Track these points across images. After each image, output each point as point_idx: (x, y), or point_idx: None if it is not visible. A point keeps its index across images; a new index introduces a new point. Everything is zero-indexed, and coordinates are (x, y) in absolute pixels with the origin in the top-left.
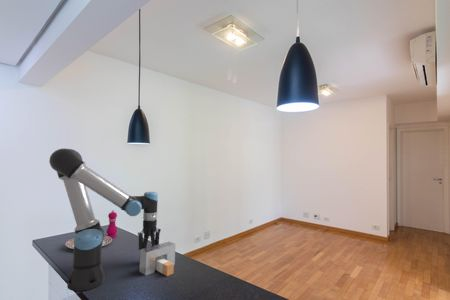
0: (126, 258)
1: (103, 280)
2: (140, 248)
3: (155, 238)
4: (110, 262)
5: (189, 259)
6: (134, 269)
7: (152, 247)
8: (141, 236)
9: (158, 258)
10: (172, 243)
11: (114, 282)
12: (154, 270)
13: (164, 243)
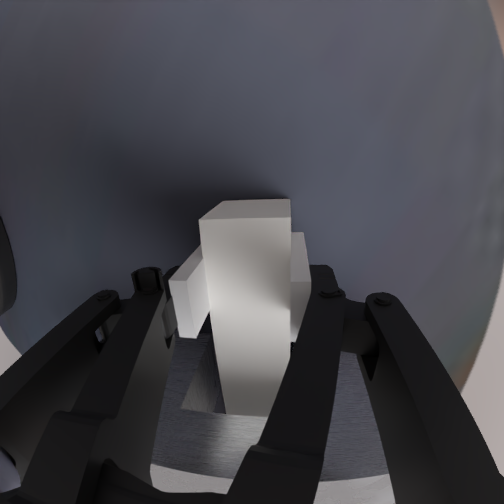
0: (161, 38)
1: (12, 297)
2: (96, 346)
3: (399, 388)
4: (62, 65)
5: (467, 371)
6: (131, 278)
7: (180, 484)
8: (14, 469)
9: (260, 415)
10: (393, 497)
11: (46, 327)
12: (216, 395)
13: (349, 487)
